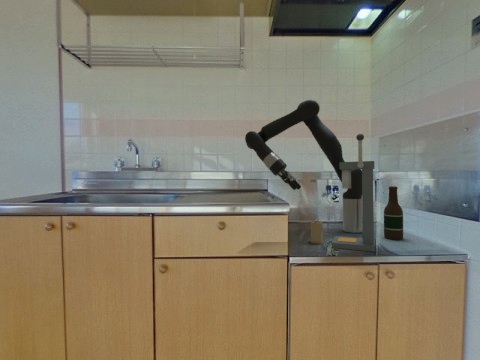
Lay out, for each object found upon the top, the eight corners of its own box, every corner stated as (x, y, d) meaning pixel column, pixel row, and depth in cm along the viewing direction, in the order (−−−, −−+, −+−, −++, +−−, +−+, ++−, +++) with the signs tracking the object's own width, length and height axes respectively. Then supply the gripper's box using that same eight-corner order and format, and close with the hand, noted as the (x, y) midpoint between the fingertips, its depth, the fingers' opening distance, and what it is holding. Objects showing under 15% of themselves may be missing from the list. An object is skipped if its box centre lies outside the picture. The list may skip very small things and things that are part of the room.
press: (335, 240, 121) (334, 139, 120) (374, 243, 114) (373, 136, 113) (331, 247, 109) (330, 135, 108) (375, 251, 102) (374, 131, 101)
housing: (312, 240, 121) (312, 218, 121) (322, 241, 119) (322, 219, 119) (310, 243, 117) (310, 219, 117) (321, 244, 115) (320, 220, 115)
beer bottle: (392, 240, 119) (392, 186, 118) (380, 236, 126) (379, 186, 126) (407, 239, 120) (407, 186, 120) (394, 235, 128) (393, 186, 127)
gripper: (276, 157, 120) (301, 183, 116) (283, 159, 133) (306, 182, 129) (264, 168, 122) (288, 194, 118) (273, 169, 135) (295, 193, 131)
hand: (298, 188), depth 123 cm, fingers open, 8 cm apart
